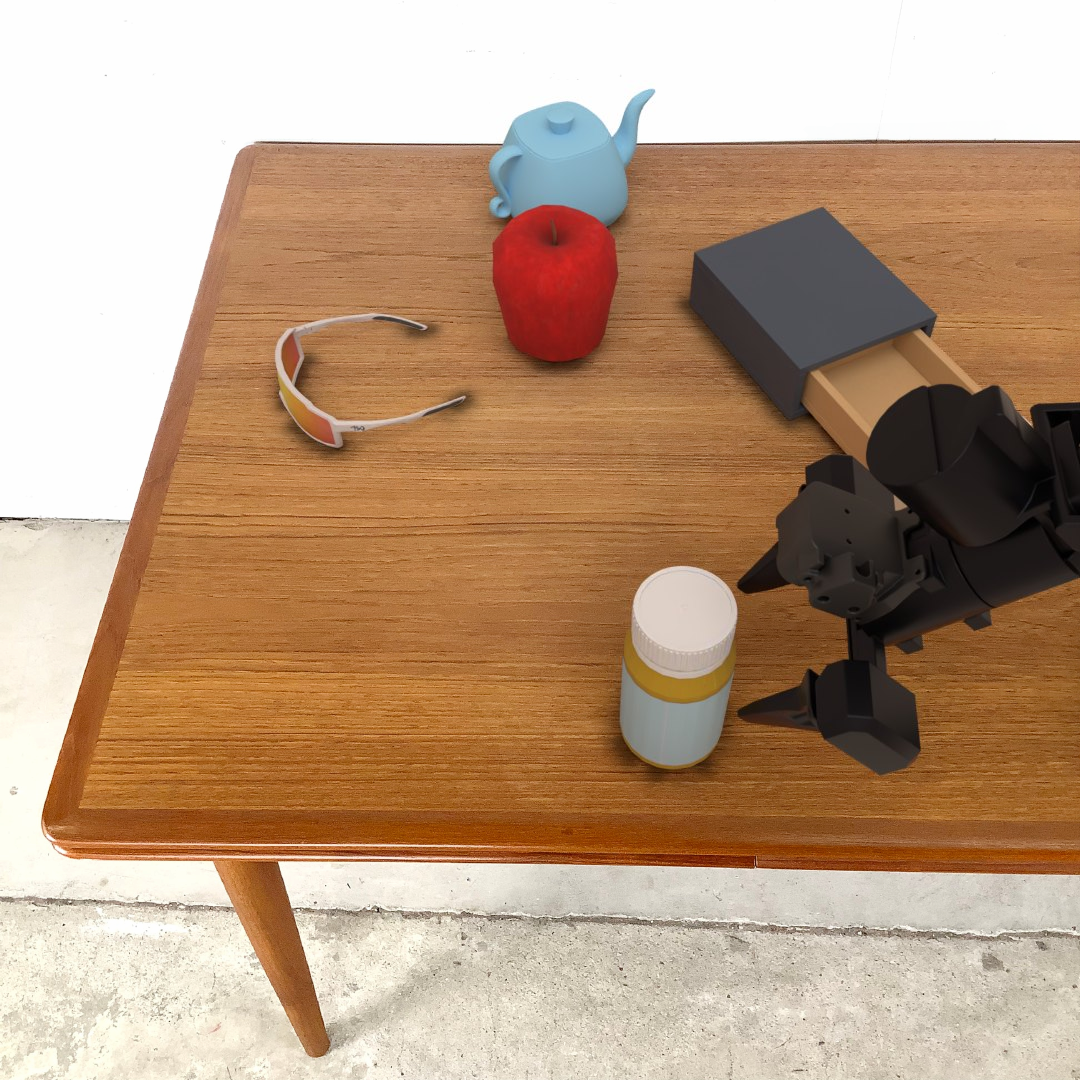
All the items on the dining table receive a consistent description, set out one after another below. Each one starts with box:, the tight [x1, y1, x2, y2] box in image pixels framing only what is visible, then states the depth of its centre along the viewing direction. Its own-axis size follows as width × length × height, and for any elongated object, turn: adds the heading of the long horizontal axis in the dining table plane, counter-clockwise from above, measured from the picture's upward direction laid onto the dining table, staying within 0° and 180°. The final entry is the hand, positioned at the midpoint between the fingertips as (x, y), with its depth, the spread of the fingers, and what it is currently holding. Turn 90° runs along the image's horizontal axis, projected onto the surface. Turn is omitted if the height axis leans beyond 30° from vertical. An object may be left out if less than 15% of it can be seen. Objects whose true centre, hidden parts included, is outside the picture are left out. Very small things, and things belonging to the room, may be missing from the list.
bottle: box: [619, 565, 739, 770], centre depth 72 cm, size 7×7×15 cm
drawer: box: [800, 328, 1033, 511], centre depth 90 cm, size 20×12×4 cm, turn 26°
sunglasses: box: [274, 312, 467, 449], centre depth 98 cm, size 14×15×5 cm
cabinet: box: [688, 206, 938, 422], centre depth 99 cm, size 17×14×6 cm
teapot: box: [488, 88, 656, 228], centre depth 109 cm, size 13×11×18 cm
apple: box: [491, 205, 619, 363], centre depth 96 cm, size 11×10×14 cm
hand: (741, 650), depth 69 cm, fingers open, 9 cm apart
